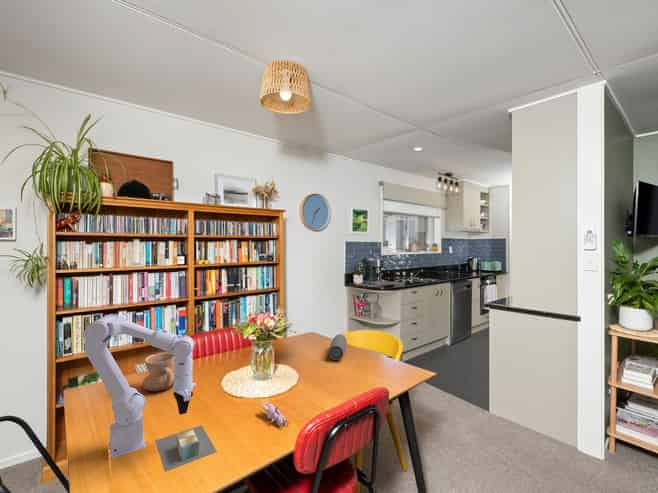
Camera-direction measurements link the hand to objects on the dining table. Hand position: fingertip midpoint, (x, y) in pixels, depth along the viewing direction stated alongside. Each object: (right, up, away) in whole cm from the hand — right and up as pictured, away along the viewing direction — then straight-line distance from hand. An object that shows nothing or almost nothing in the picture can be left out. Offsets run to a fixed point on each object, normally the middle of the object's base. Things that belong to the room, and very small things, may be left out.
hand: (182, 413), depth 107 cm
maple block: (+2, -7, -3) cm, 8 cm away
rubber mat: (+3, -9, -4) cm, 10 cm away
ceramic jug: (-28, -9, +38) cm, 48 cm away
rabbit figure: (+29, -10, +14) cm, 33 cm away
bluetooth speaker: (+55, -9, +83) cm, 101 cm away
